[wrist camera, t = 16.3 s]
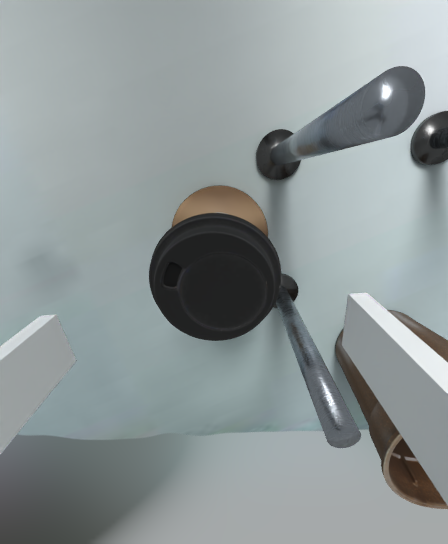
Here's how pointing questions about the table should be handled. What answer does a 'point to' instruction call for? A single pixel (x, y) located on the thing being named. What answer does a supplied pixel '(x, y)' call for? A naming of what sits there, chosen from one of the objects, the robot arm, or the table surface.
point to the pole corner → (347, 123)
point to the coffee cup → (215, 276)
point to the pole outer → (431, 140)
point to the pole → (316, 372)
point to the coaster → (222, 205)
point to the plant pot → (388, 441)
